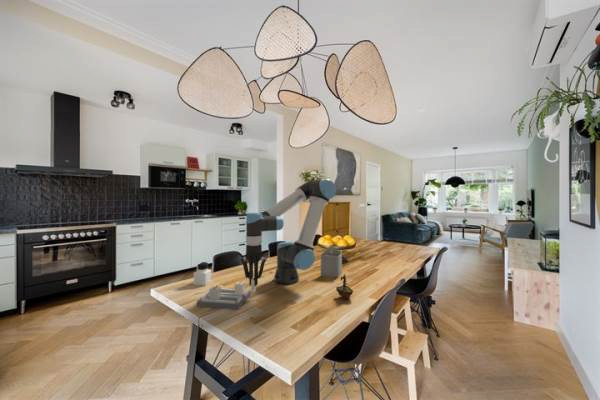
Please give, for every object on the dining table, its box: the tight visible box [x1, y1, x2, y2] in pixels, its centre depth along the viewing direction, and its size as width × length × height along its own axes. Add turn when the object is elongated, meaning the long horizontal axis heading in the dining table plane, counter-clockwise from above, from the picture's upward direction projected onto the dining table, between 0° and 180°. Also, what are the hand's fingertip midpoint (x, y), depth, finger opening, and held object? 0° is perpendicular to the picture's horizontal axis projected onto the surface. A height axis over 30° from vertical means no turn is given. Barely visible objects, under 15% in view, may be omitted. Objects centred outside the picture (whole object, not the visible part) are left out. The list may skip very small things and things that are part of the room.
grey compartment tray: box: [196, 288, 251, 310], centre depth 116 cm, size 20×16×3 cm
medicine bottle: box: [193, 261, 212, 287], centre depth 138 cm, size 7×7×12 cm
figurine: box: [335, 274, 354, 299], centre depth 120 cm, size 10×8×12 cm
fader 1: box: [208, 286, 222, 300], centre depth 112 cm, size 4×4×5 cm
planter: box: [320, 244, 343, 279], centre depth 154 cm, size 16×8×19 cm, turn 116°
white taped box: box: [234, 281, 246, 295], centre depth 119 cm, size 4×4×5 cm
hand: (253, 291), depth 118 cm, fingers closed
